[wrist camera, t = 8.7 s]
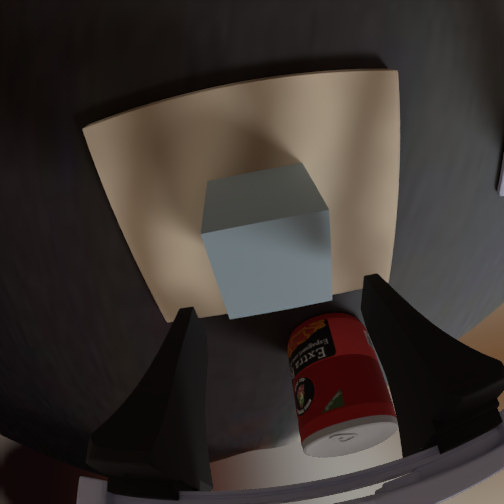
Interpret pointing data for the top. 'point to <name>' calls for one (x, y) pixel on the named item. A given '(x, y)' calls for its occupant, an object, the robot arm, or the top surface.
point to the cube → (268, 240)
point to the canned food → (338, 387)
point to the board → (250, 160)
